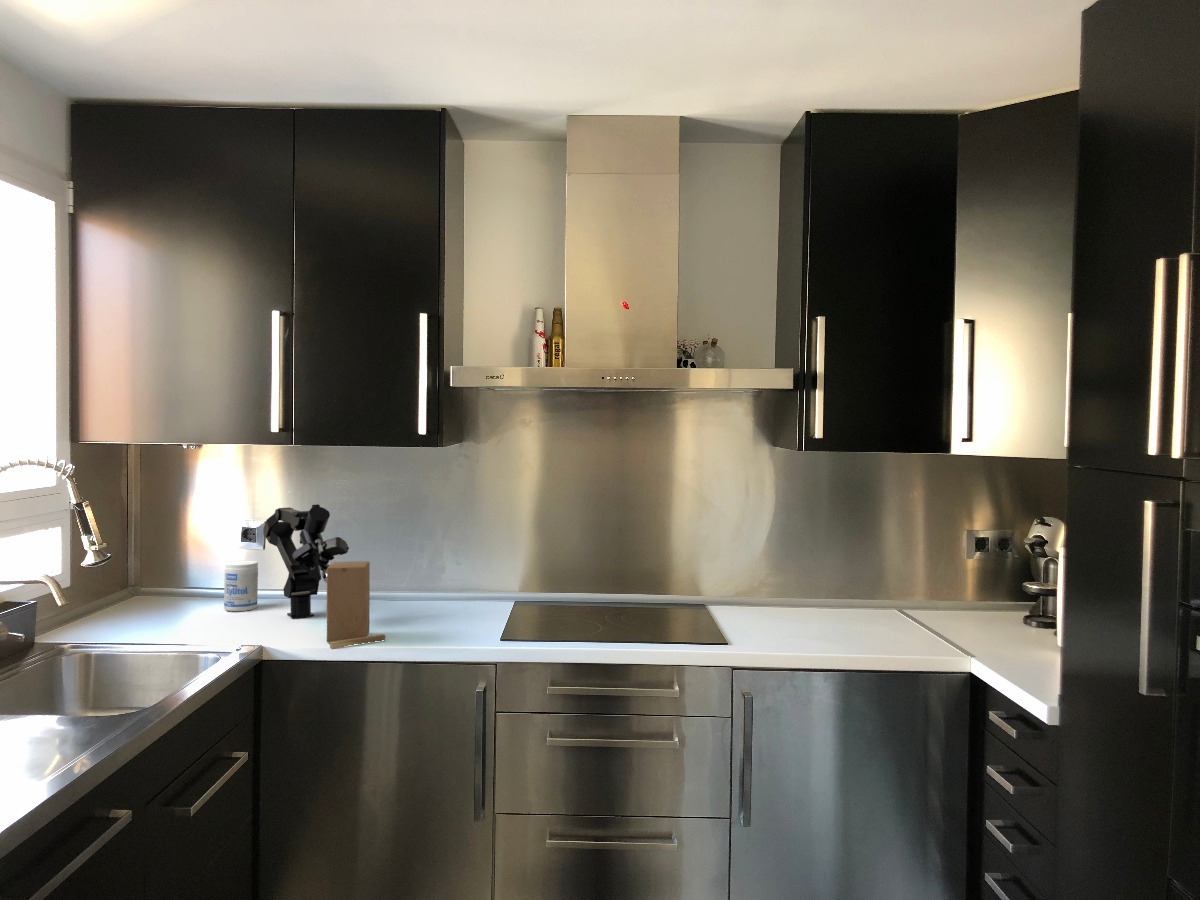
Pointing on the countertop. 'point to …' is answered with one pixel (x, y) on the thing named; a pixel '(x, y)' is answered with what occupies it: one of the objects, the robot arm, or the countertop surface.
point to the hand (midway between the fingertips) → (328, 586)
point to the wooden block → (348, 600)
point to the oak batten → (356, 641)
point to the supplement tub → (241, 585)
